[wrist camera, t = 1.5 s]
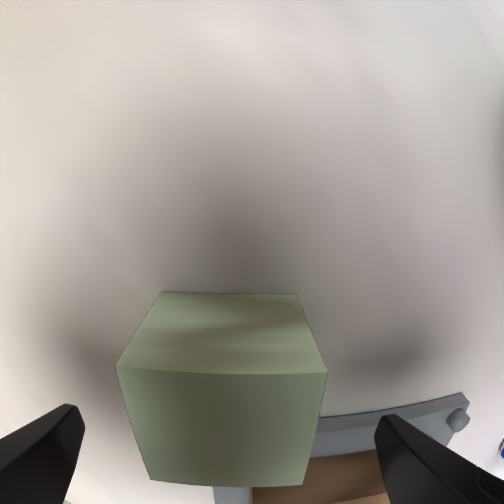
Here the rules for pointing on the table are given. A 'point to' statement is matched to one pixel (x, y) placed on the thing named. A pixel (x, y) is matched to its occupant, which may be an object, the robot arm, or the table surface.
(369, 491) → the base brick
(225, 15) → the table surface
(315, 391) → the block
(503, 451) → the beverage can
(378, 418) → the baseplate
